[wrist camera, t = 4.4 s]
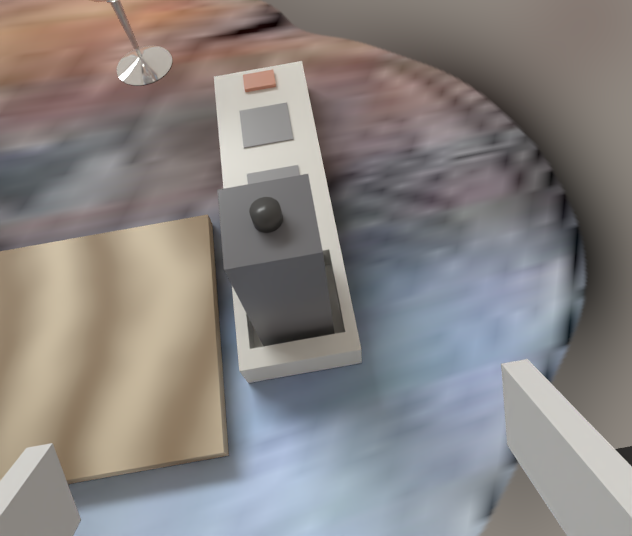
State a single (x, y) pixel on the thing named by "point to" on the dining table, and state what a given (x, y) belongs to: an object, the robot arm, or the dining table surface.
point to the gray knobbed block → (276, 258)
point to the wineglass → (139, 55)
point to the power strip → (275, 163)
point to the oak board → (113, 350)
